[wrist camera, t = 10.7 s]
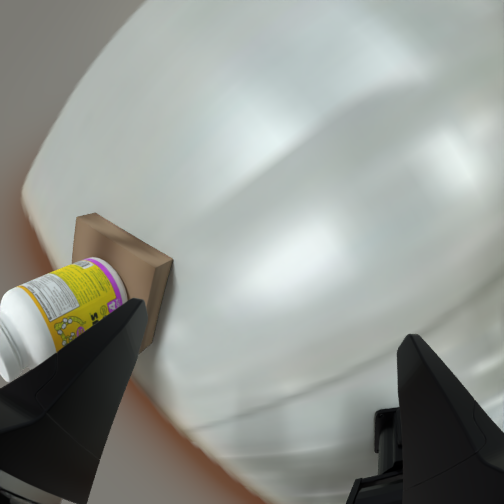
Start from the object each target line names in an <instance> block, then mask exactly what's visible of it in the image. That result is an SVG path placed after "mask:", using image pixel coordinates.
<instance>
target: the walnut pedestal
mask: <svg viewBox="0 0 504 504" xmlns="http://www.w3.org/2000/svg"><path fill="white" fill-rule="evenodd" d="M91 257H95V258H100V259H102V260H104V261H106V262H107V263H108V264H109V265H111V266H112V267H113V269H114V270H115V271H116V272H117V273H118V275H119V276H120V278H121V280H122V282H123V284H124V287H125V290H126V293H127V299H128V300H129V299H131V298H139V299H143V300H144V301H145V304H146V309H147V314H148V322H147V326H146V329H145V333H144V336H143V340H142V343H141V347H140V350H139V354H140V353H141V352H142V351H143V350H144V349H146V348H147V347H148V346H149V345H150V344H151V343H152V340H153V336H154V331H155V327H156V323H157V318H158V314H159V310H160V306H161V302H162V298H163V294H164V290H165V287H166V283H167V279H168V275H169V272H170V268H171V264H172V261H173V259H172V258H171V257H169V256H167V255H165V254H164V253H162V252H160V251H158V250H157V249H155V248H153V247H152V246H150V245H148V244H146V243H145V242H143V241H141V240H140V239H138V238H136V237H135V236H133V235H131V234H130V233H128V232H126V231H125V230H123V229H121V228H120V227H118V226H116V225H115V224H113V223H111V222H110V221H108V220H106V219H105V218H103V217H102V216H100V215H98V214H97V213H92V214H87V215H83V216H79V217H77V218H76V226H75V234H74V243H73V254H72V264H73V263H76V262H78V261H81V260H84V259H87V258H91Z"/></svg>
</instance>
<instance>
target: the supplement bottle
mask: <svg viewBox="0 0 504 504" xmlns="http://www.w3.org/2000/svg"><path fill="white" fill-rule="evenodd" d="M127 301H128V299H127V293H126V290H125V287H124V284H123V282H122V280H121V278H120V276H119V275H118V273H117V272H116V271H115V270H114V269H113V267H112V266H111V265H109V264H108V263H107V262H106V261H104V260H102V259H100V258H95V257H91V258H87V259H84V260H81V261H78V262H76V263H73V264H71V265H68V266H66V267H63V268H61V269H58V270H56V271H53V272H51V273H49V274H46V275H44V276H41V277H39V278H37V279H34V280H32V281H29V282H27V283H25V284H22V285H20V286H18V287H15V288H13V289H11V290H9V291H8V292H7V293H5V295H4V296H3V298H2V301H1V305H0V375H1V376H2V377H3V378H4V380H6V381H7V382H11V381H12V380H14V379H15V378H17V377H19V376H20V373H21V372H22V371H23V369H24V368H26V367H29V368H30V369H31V370H32V369H33V368H35V367H36V366H38V365H39V364H41V363H42V362H43V361H45V360H46V359H48V358H49V357H50V356H52V355H53V354H54V353H57V351H59V350H60V349H61V348H63V347H64V346H65V345H67V344H68V343H69V342H71V341H72V340H73V339H75V338H76V337H78V336H79V335H80V334H82V333H83V332H84V331H86V330H87V329H89V328H90V327H91V326H93V325H94V324H96V323H97V322H98V321H100V320H101V319H103V318H104V317H105V316H107V315H108V314H110V313H111V312H112V311H114V310H115V309H117V308H118V307H119V306H121V305H122V304H124V303H125V302H127Z"/></svg>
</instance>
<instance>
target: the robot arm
mask: <svg viewBox="0 0 504 504" xmlns="http://www.w3.org/2000/svg"><path fill="white" fill-rule="evenodd" d="M147 322H148V314H147V309H146V304H145V301H144V300H143V299H139V298H131V299H129V300H128V301H127V302H125V303H124V304H122V305H121V306H119V307H118V308H117V309H115V310H114V311H112V312H111V313H110V314H108V315H107V316H105V317H104V318H103V319H101V320H100V321H98V322H97V323H96V324H94V325H93V326H91V327H90V328H89V329H87V330H86V331H84V332H83V333H82V334H80V335H79V336H78V337H76V338H75V339H73V340H72V341H71V342H69V343H68V344H67V345H65V346H64V347H63V348H61V349H60V350H59V351H57V353H54V354H53V355H52V356H50V357H49V358H48V359H46V360H45V361H43V362H42V363H41V364H39V365H38V366H36V367H35V368H33V369H32V370H30V371H28V372H27V373H25V374H24V375H22V376H20V377H19V378H17V379H15V380H14V381H12V382H10V383H9V384H7V385H6V386H4V387H2V388H0V504H61V503H62V500H63V499H65V500H68V501H71V502H73V503H76V504H87V501H88V498H89V494H90V491H91V488H92V484H93V481H94V478H95V475H96V471H97V468H98V465H99V462H100V460H99V459H100V458H101V455H102V452H103V449H104V446H105V444H106V441H107V438H108V435H109V432H110V429H111V426H112V424H113V421H114V418H115V415H116V413H117V410H118V407H119V404H120V402H121V399H122V397H123V394H124V391H125V389H126V386H127V384H128V381H129V379H130V376H131V373H132V371H133V369H134V366H135V363H136V361H137V357H138V354H139V350H140V347H141V343H142V340H143V336H144V333H145V329H146V326H147ZM397 373H398V398H399V407H397V408H390V409H382V410H378V411H377V412H376V422H375V453H379V459H378V475H376V476H372V477H368V478H359V479H356V480H355V482H354V485H353V487H352V489H351V492H350V495H349V497H348V500H347V502H346V504H504V433H503V432H502V431H501V429H500V428H499V427H498V426H497V425H496V424H495V423H494V422H493V421H492V420H491V418H490V417H489V416H488V415H487V414H486V413H485V411H484V410H483V409H482V408H481V407H480V405H479V404H478V403H477V402H476V400H474V398H473V397H472V396H471V394H470V393H469V392H468V391H467V389H466V388H465V387H464V386H463V385H462V383H461V382H460V381H459V380H458V379H457V377H456V376H455V375H454V374H453V373H452V372H451V370H450V369H449V368H448V367H447V366H446V365H445V363H444V362H443V361H442V360H441V359H440V358H439V357H438V355H437V354H436V353H435V352H434V351H433V350H432V349H431V348H430V346H429V345H428V344H427V343H426V342H425V341H424V340H423V339H422V338H421V336H420V335H418V334H408V335H407V336H406V337H405V339H404V340H403V342H402V343H401V345H400V346H399V348H398V350H397ZM381 414H382V415H381Z"/></svg>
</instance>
